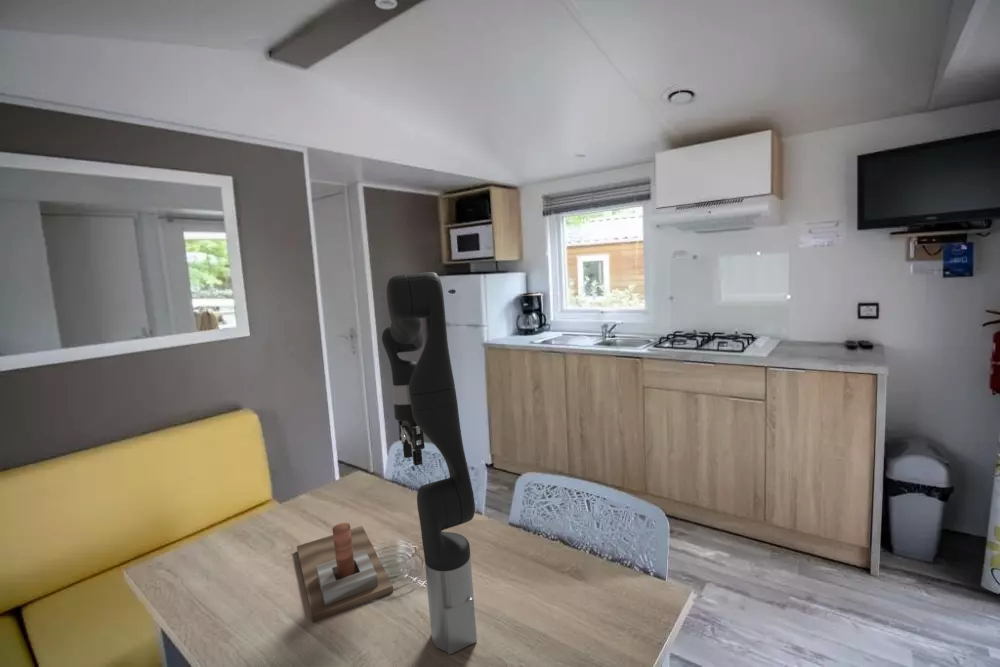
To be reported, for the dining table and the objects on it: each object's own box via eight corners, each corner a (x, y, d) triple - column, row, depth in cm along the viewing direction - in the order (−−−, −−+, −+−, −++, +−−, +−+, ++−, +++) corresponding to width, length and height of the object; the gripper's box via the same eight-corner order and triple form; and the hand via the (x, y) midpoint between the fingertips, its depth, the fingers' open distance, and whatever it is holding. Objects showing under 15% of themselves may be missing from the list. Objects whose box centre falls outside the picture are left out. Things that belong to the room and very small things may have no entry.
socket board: (393, 591, 112) (391, 574, 111) (313, 622, 103) (310, 603, 102) (362, 530, 139) (361, 516, 139) (297, 551, 131) (295, 536, 130)
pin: (357, 582, 113) (351, 528, 112) (340, 588, 112) (334, 533, 110) (354, 573, 117) (348, 521, 115) (337, 579, 115) (331, 526, 113)
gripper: (386, 399, 129) (391, 458, 130) (401, 406, 117) (407, 470, 117) (413, 395, 133) (418, 452, 133) (430, 401, 120) (435, 464, 121)
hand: (413, 461), depth 125 cm, fingers open, 8 cm apart
